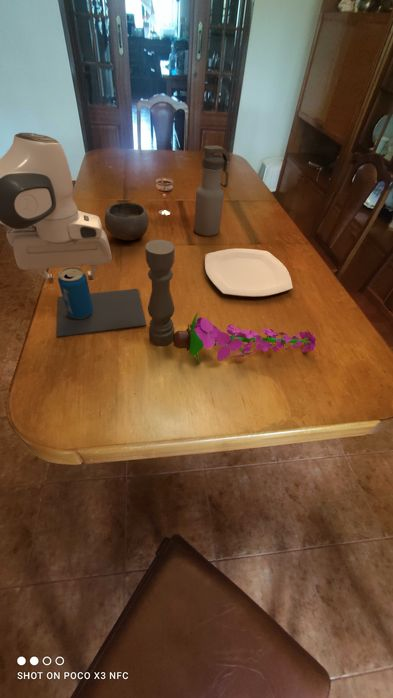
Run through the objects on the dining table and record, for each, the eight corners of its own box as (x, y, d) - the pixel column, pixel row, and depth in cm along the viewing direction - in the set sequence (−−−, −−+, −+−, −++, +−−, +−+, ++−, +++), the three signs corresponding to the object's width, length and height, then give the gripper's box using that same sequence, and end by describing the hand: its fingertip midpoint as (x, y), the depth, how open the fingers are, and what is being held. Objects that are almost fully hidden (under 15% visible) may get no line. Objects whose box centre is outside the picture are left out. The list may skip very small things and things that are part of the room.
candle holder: (177, 333, 81) (180, 242, 63) (168, 349, 77) (169, 257, 59) (155, 326, 82) (151, 236, 64) (145, 342, 78) (138, 250, 60)
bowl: (105, 228, 117) (101, 201, 110) (145, 226, 120) (144, 199, 113) (108, 249, 107) (104, 220, 100) (152, 246, 111) (151, 217, 104)
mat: (56, 337, 77) (56, 336, 77) (58, 298, 88) (57, 296, 87) (146, 326, 82) (146, 324, 82) (138, 289, 93) (137, 288, 92)
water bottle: (214, 223, 126) (223, 142, 106) (224, 235, 120) (235, 151, 100) (190, 226, 123) (194, 143, 103) (199, 238, 117) (206, 152, 97)
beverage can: (62, 315, 82) (50, 275, 74) (80, 302, 86) (70, 263, 78) (82, 324, 81) (71, 284, 72) (98, 310, 85) (91, 271, 76)
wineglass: (166, 207, 133) (166, 176, 125) (176, 213, 130) (176, 182, 121) (153, 210, 130) (152, 179, 122) (162, 217, 127) (162, 185, 118)
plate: (269, 251, 114) (271, 246, 112) (302, 297, 96) (304, 292, 94) (196, 255, 108) (197, 250, 107) (216, 304, 91) (217, 299, 89)
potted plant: (169, 353, 81) (293, 352, 89) (178, 377, 66) (328, 372, 73) (170, 306, 78) (299, 308, 85) (180, 318, 63) (337, 320, 70)
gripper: (1, 234, 62) (23, 292, 72) (108, 229, 67) (115, 284, 77) (5, 220, 66) (25, 276, 76) (106, 216, 71) (113, 270, 81)
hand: (71, 280), depth 76 cm, fingers open, 8 cm apart
